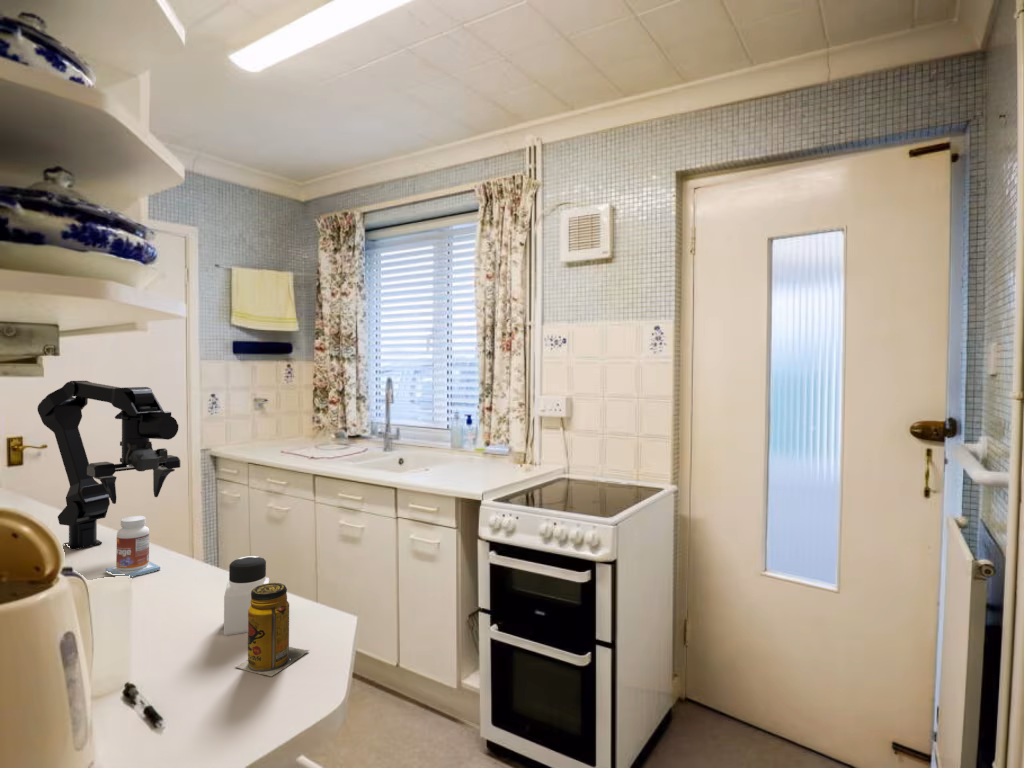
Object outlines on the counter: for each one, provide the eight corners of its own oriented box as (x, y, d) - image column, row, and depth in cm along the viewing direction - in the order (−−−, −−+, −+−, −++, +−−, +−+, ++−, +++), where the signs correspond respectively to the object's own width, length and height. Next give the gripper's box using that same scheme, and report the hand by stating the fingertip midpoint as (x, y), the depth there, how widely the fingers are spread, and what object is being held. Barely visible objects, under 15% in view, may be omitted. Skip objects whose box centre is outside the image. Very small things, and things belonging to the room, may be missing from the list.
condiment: (234, 668, 88) (235, 592, 87) (275, 643, 96) (276, 574, 95) (271, 678, 85) (272, 599, 85) (309, 652, 93) (310, 580, 93)
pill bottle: (109, 569, 126) (109, 520, 125) (136, 560, 131) (137, 513, 131) (128, 573, 123) (129, 523, 123) (155, 564, 129) (155, 516, 129)
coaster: (105, 572, 126) (105, 568, 126) (145, 562, 133) (145, 558, 133) (120, 580, 122) (120, 576, 122) (160, 570, 128) (160, 566, 128)
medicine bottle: (268, 630, 100) (269, 563, 100) (223, 636, 98) (224, 568, 97) (268, 613, 107) (269, 551, 107) (226, 619, 104) (227, 555, 104)
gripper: (104, 444, 127) (104, 512, 127) (190, 437, 142) (190, 498, 143) (86, 439, 133) (86, 505, 134) (170, 433, 149) (170, 492, 149)
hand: (135, 500), depth 140 cm, fingers open, 9 cm apart
